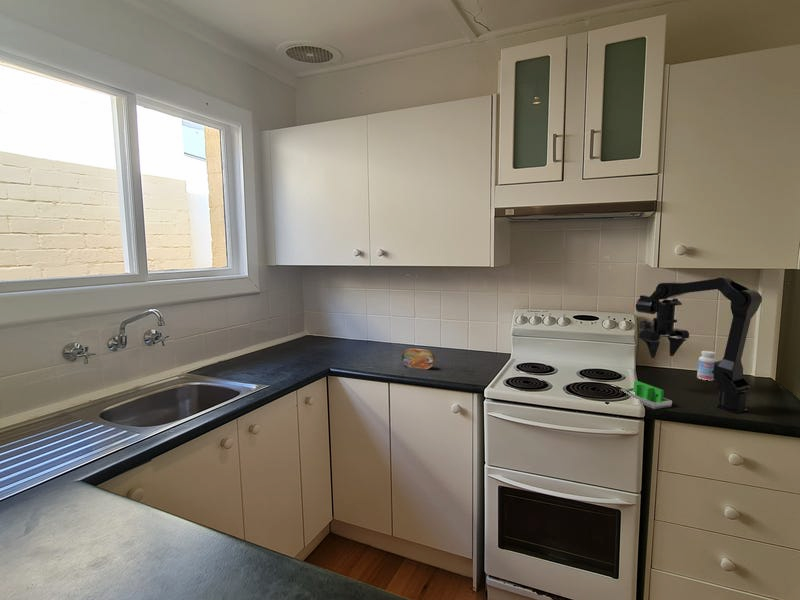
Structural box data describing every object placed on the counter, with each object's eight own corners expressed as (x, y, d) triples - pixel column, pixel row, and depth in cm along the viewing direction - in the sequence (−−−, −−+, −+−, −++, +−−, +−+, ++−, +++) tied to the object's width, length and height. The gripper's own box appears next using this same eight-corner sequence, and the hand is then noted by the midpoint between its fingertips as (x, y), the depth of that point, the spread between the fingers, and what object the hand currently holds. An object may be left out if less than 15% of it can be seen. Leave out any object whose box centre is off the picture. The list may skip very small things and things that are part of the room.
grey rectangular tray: (671, 406, 148) (671, 400, 148) (654, 409, 145) (654, 403, 145) (635, 392, 162) (636, 387, 161) (619, 394, 159) (620, 389, 159)
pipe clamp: (627, 393, 158) (628, 381, 158) (635, 392, 159) (636, 380, 159) (654, 404, 148) (655, 390, 147) (662, 403, 149) (663, 389, 148)
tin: (401, 366, 195) (401, 347, 194) (404, 364, 198) (404, 346, 197) (433, 370, 188) (433, 351, 187) (435, 369, 191) (436, 350, 190)
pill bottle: (699, 380, 177) (701, 353, 176) (695, 376, 183) (697, 349, 181) (716, 382, 175) (719, 354, 174) (712, 377, 181) (715, 351, 179)
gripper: (665, 311, 174) (662, 350, 176) (628, 314, 169) (625, 353, 170) (691, 316, 164) (688, 357, 166) (653, 318, 158) (649, 361, 160)
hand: (662, 357), depth 166 cm, fingers open, 9 cm apart
